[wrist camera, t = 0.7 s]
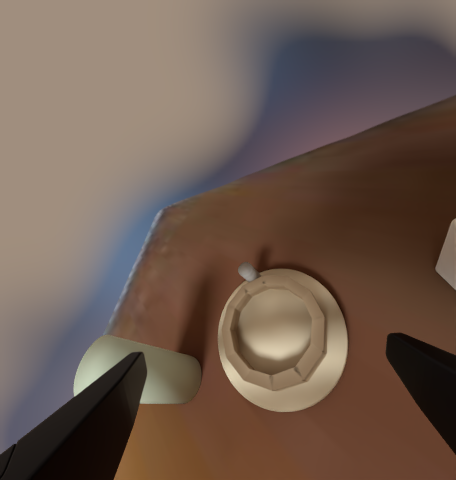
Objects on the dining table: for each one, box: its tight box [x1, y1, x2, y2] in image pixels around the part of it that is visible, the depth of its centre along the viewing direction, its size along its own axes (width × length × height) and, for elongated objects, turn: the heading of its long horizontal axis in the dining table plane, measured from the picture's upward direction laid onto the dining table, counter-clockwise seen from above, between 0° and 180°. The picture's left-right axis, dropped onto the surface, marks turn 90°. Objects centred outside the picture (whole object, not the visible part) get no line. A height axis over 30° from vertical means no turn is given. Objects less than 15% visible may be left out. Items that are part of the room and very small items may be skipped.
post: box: [74, 335, 202, 404], centre depth 20 cm, size 5×5×11 cm
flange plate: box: [218, 262, 349, 412], centre depth 20 cm, size 13×13×4 cm
